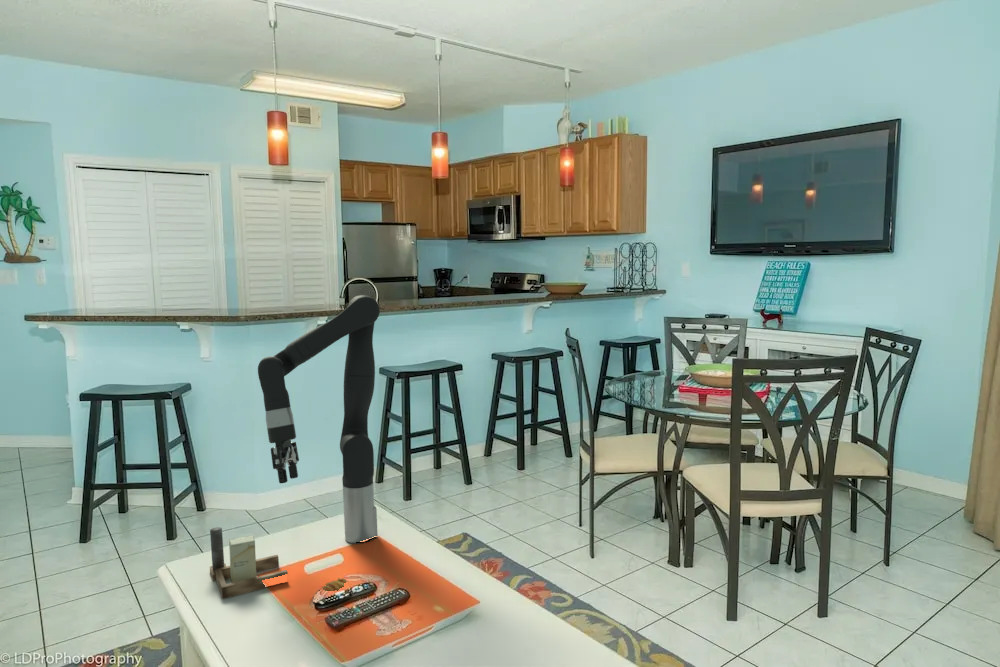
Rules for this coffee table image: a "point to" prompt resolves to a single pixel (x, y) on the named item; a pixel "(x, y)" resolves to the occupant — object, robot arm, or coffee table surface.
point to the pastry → (335, 585)
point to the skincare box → (242, 558)
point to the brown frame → (223, 572)
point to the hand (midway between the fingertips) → (289, 480)
